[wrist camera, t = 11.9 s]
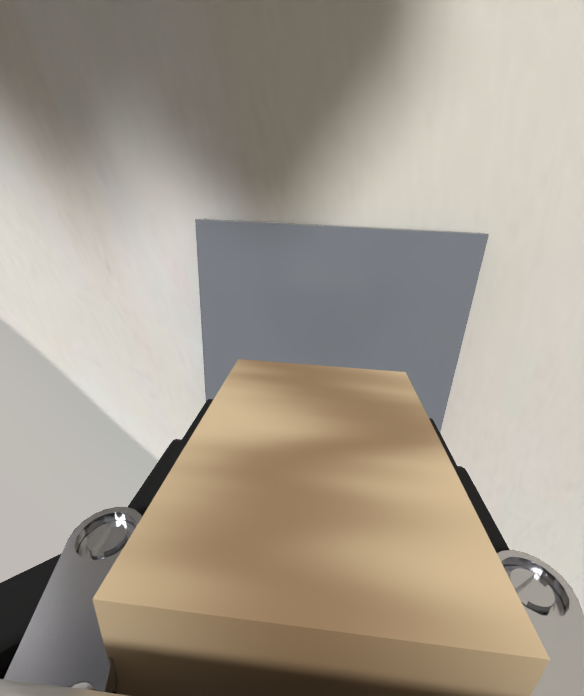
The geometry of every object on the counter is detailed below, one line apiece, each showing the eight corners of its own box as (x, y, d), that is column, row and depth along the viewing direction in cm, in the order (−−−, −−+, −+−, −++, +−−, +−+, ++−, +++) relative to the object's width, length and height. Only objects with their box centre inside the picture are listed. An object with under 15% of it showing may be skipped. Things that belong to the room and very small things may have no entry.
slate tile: (480, 232, 14) (488, 234, 14) (426, 462, 19) (430, 472, 18) (201, 218, 15) (195, 219, 15) (213, 440, 20) (208, 449, 19)
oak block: (405, 372, 10) (550, 659, 4) (381, 501, 12) (448, 848, 5) (237, 358, 10) (92, 599, 4) (239, 487, 12) (143, 795, 6)
